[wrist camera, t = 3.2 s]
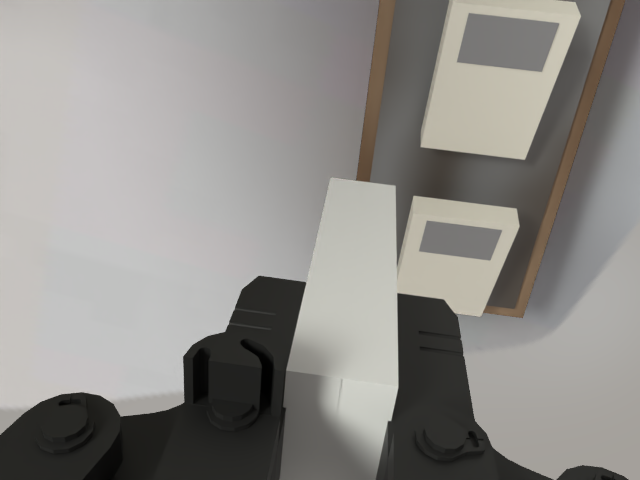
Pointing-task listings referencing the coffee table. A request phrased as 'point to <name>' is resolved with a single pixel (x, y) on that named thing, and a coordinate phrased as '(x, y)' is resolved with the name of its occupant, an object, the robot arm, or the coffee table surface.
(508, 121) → the block
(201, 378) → the robot arm
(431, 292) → the rocker
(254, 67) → the coffee table surface
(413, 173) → the wooden storage box
